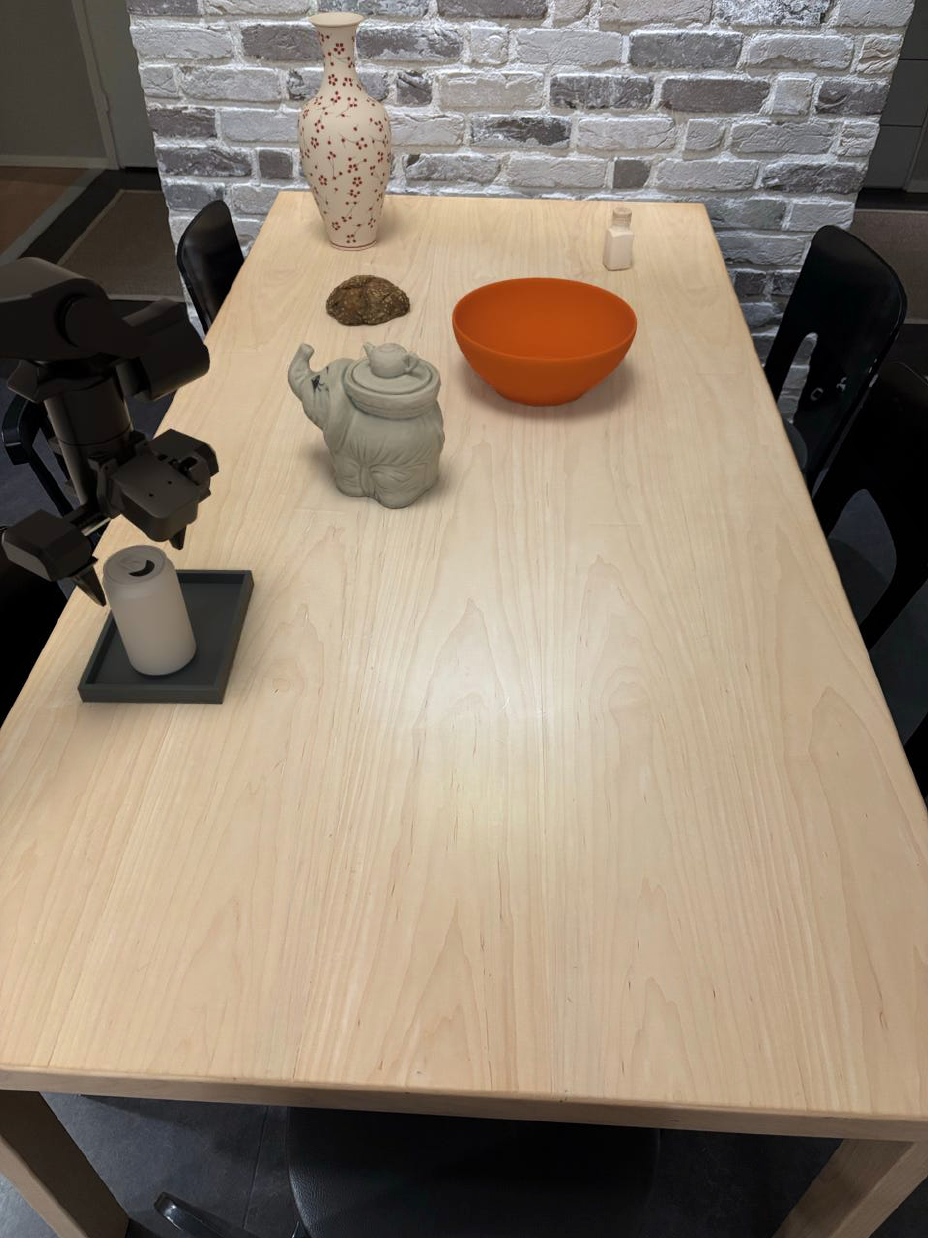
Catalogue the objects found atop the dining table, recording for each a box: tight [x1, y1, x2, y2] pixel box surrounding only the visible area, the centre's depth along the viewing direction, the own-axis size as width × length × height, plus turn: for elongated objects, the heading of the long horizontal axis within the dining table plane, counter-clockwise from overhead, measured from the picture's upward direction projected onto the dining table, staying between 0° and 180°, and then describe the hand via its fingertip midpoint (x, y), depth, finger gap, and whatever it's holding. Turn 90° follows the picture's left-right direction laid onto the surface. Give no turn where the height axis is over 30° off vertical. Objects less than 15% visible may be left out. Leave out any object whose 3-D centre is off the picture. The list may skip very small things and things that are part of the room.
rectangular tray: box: [76, 568, 255, 705], centre depth 92 cm, size 17×13×2 cm
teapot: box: [287, 341, 446, 509], centre depth 106 cm, size 16×15×19 cm
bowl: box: [451, 276, 638, 408], centre depth 127 cm, size 25×25×10 cm
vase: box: [297, 11, 392, 251], centre depth 156 cm, size 16×16×35 cm
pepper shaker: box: [602, 206, 635, 271], centre depth 157 cm, size 4×4×10 cm
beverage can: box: [101, 544, 196, 675], centre depth 86 cm, size 6×6×12 cm
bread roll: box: [325, 274, 411, 326], centre depth 146 cm, size 13×12×5 cm
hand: (141, 575), depth 83 cm, fingers open, 9 cm apart
